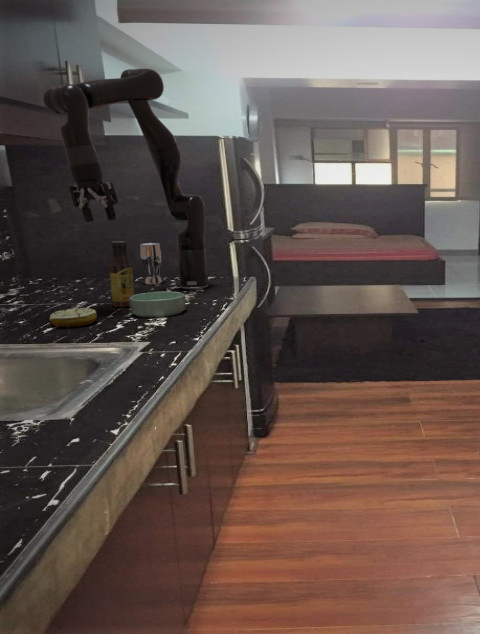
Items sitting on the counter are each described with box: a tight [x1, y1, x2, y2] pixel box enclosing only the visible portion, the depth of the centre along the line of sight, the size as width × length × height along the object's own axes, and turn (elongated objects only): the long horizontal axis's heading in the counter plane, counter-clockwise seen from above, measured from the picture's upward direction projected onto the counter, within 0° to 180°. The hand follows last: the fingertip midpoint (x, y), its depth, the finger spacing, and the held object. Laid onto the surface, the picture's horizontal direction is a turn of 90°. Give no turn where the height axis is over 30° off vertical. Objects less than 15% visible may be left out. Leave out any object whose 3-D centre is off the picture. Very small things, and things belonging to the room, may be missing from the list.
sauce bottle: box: [109, 240, 135, 308], centre depth 183 cm, size 7×6×20 cm
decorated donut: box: [49, 307, 98, 328], centre depth 161 cm, size 10×11×4 cm
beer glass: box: [139, 242, 163, 286], centre depth 224 cm, size 7×7×15 cm
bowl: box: [129, 291, 187, 318], centre depth 176 cm, size 15×15×5 cm
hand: (100, 220), depth 170 cm, fingers open, 8 cm apart
